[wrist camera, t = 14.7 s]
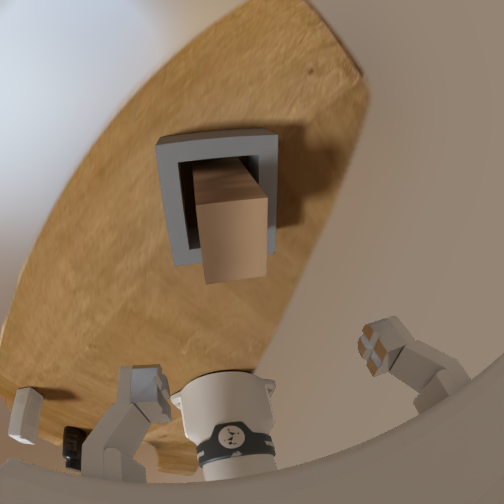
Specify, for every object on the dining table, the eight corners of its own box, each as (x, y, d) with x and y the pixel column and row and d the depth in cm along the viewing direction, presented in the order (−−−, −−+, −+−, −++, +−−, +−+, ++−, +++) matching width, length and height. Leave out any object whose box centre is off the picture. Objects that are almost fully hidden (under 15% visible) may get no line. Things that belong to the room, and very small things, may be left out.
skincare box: (30, 398, 37) (23, 444, 27) (16, 387, 35) (6, 434, 25) (44, 396, 37) (37, 446, 27) (29, 385, 35) (19, 436, 25)
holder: (264, 231, 28) (275, 253, 25) (175, 243, 27) (174, 266, 23) (264, 128, 22) (278, 134, 19) (160, 137, 21) (155, 145, 17)
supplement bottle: (61, 428, 47) (58, 466, 37) (67, 424, 45) (64, 465, 35) (83, 437, 50) (82, 474, 40) (91, 433, 49) (90, 473, 39)
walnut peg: (237, 157, 23) (267, 197, 15) (239, 212, 26) (266, 275, 18) (192, 161, 23) (195, 205, 14) (197, 217, 26) (205, 284, 18)
